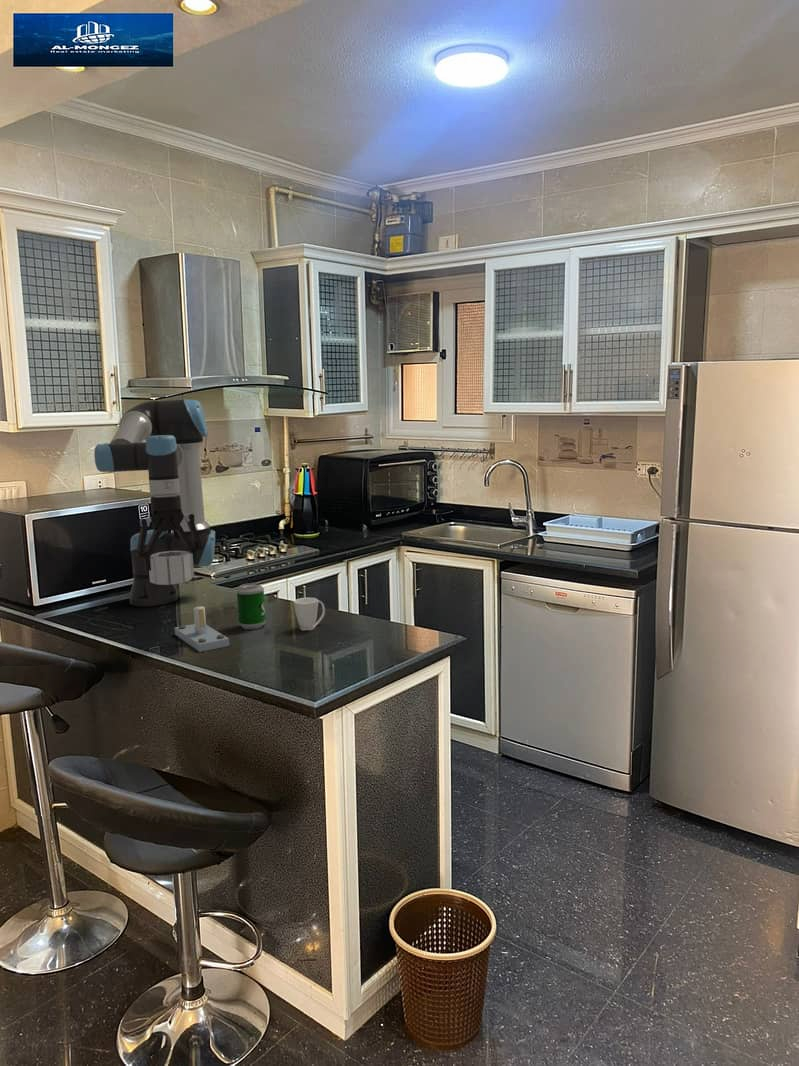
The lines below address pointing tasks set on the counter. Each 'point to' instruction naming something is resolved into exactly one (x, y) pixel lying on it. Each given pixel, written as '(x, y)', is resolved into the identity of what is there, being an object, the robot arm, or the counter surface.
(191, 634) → the block
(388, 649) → the counter surface
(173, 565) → the grey hollow octagonal piece
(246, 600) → the soda can
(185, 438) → the robot arm
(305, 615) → the cup
